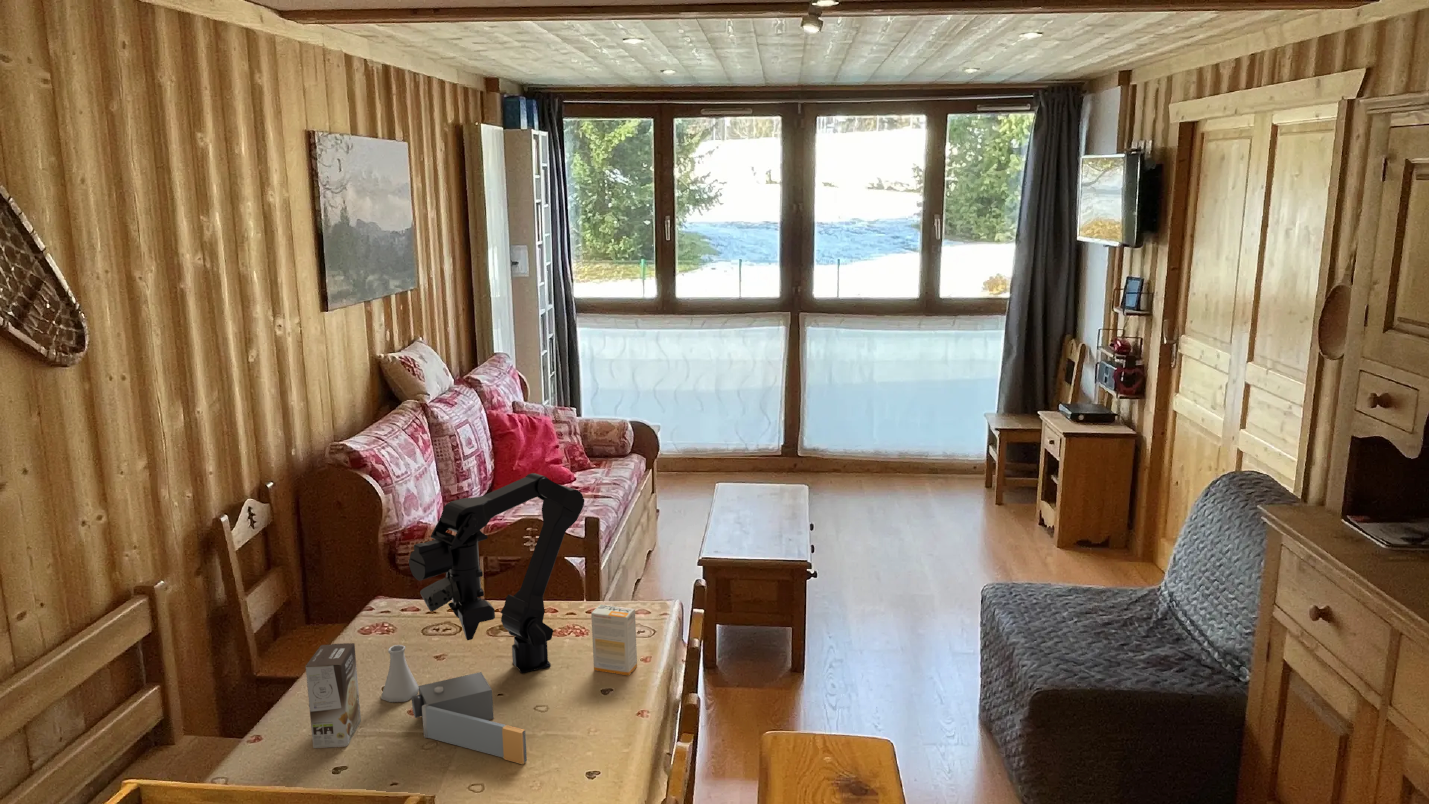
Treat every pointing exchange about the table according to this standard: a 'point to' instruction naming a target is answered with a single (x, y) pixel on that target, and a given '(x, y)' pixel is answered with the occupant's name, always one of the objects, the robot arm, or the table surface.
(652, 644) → the table surface
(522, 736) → the side door
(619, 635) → the supplement box
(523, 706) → the table surface
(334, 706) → the coffee box
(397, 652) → the flask
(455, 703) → the camera housing
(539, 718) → the table surface
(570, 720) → the table surface
